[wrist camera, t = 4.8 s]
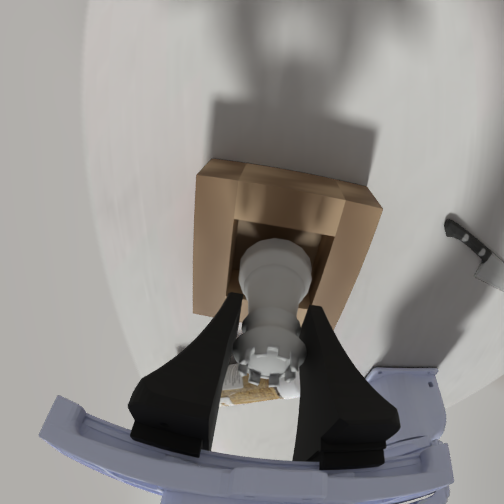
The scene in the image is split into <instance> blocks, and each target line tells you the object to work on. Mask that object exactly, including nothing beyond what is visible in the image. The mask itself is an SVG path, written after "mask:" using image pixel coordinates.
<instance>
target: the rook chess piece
mask: <svg viewBox="0 0 504 504" xmlns="http://www.w3.org/2000/svg"><path fill="white" fill-rule="evenodd" d="M311 273H312V267H311V262H310V258H309V257H308V255H307V254H306V253H305V251H304V250H303V249H302V248H301V247H300V246H298V245H296V244H295V243H293V242H291V241H289V240H283V239H277V238H272V239H267V240H262V241H259V242H257V243H256V244H254V245H252V246H251V247H249V248H248V249H247V250H246V252H245V253H244V255H243V256H242V258H241V262H240V270H239V283H240V286H241V289H242V292H243V294H244V295H245V297H246V299H247V301H248V315H247V316H246V318H245V319H244V320H243V323H242V331H243V334H241V335H240V336H239V337H238V338H237V339H236V341H235V342H234V343H233V348H232V354H233V356H234V358H235V360H236V361H237V363H238V372H239V374H240V376H241V377H242V376H247V373H248V374H249V379H248V382H249V383H251V384H254V385H257V386H258V385H259V383H260V378H264V379H269V387H279V386H280V378H282V377H285V378H284V381H286V382H288V383H290V382H291V381H293V380H294V379H295V378H296V372H299V366H300V365H302V364H303V363H304V360H305V358H306V356H307V351H306V346H305V344H304V343H303V342H302V341H301V340H300V339H299V335H300V332H301V326H300V322H299V320H298V319H297V311H298V306H299V303H300V302H301V301H302V300H303V298H304V297H305V296H306V295H307V293H308V290H309V287H310V284H311V280H312V276H311Z"/></svg>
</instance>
